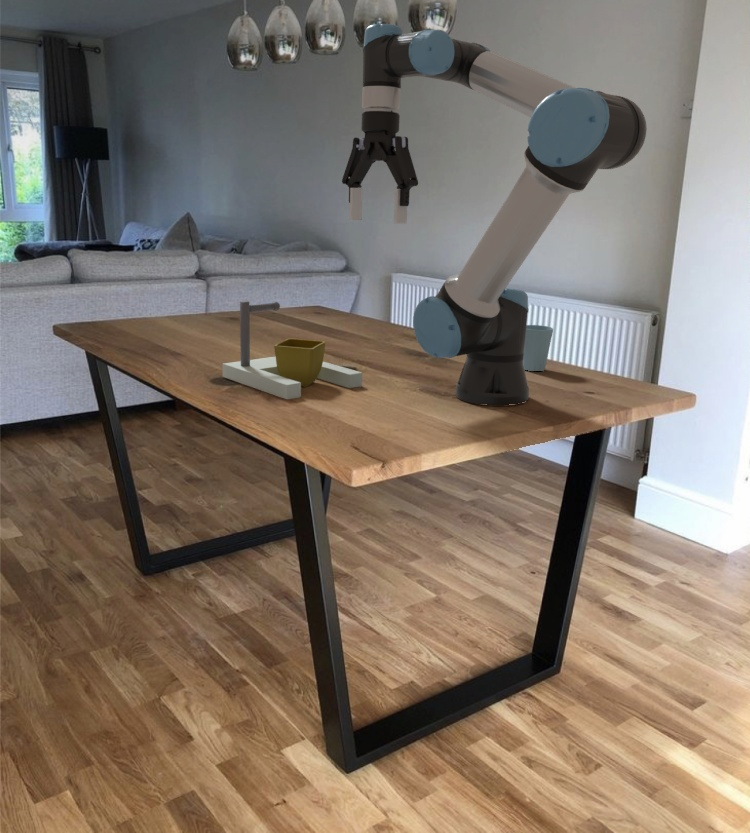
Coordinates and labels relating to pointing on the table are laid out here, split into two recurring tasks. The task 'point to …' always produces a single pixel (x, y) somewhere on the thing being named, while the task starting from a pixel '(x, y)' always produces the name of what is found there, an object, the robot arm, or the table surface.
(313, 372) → the flower pot
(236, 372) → the l-shaped hook stand
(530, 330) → the cup
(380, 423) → the table surface
